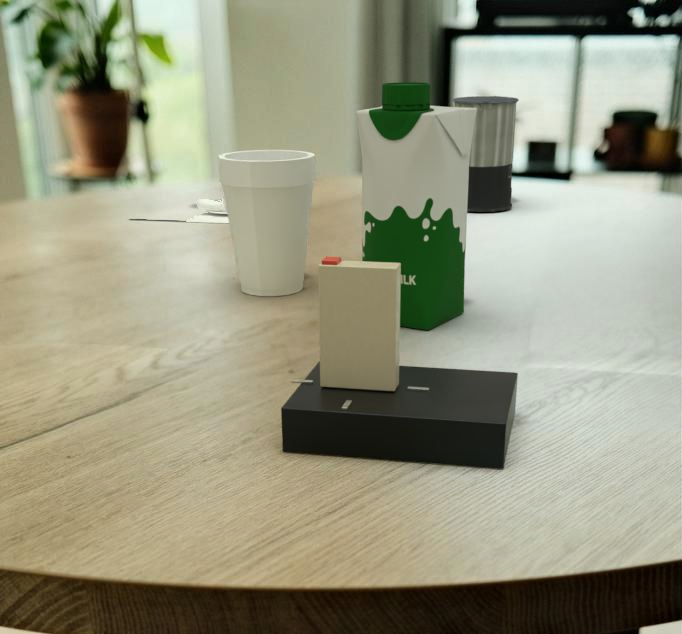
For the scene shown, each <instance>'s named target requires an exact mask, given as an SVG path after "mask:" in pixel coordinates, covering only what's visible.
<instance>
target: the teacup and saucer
mask: <svg viewBox="0 0 682 634" xmlns="http://www.w3.org/2000/svg"><path fill="white" fill-rule="evenodd" d="M220 190H221V199H222V201H221V200H218V201H220V202H218V201H214V200H209V199H199V200H198V201H197V202H196V204H197V207H198V208H199V209H202V210H205V211H206V212H208V213H203V214H201V215H199V214H198V216H196V215H195V216H194V217H193V218H194V219H192V218H190V220H189V219H187V221H186V222H185V223H206V224H207V223H209V224H229V219H228V214H227V208H226V203H225V197H224V192H223V186H222V184H221V183H220Z"/></svg>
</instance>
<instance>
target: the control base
mask: <svg viewBox="0 0 682 634" xmlns="http://www.w3.org/2000/svg"><path fill="white" fill-rule="evenodd" d="M518 375H519V373H518V372H511V371H495V370H479V369H463V368H462V369H460V368H448V367H447V368H446V367H445V368H444V367H429V366H428V367H427V366H413V365H399V384H398V386H397V388H396V390H395V391H379V390H363V389H348V388H333V387H321V386H320V360H319V361H318V362H317V363H316V364H315V365H314V367H313V368H312V369H311V371H310V372H308V374H307V376H306V377H304V379H297V378H293V379H292V380H291V384H299V385H298V387H297V388H296V389H295V390H294V392H293V393H292V394H291V395H290V397H289V398H288V399H287V400H286V401H285V402H284V404H283V405H282V406H281V408H280V415H281V444H282V452H283V453H296V454H305V455H319V456H320V455H321V456H331V457H344V458H356V459H369V460H383V461H393V462H394V461H395V462H407V463H408V462H409V463H419V464H420V463H421V464H432V465H445V466H456V467H468V468H469V467H470V468H482V469H484V468H485V469H494V470H495V469H496V470H504V469H505V468H504V467H505V463H506V459H507V454H508V449H509V444H510V439H511V434H512V429H513V425H514V420H515V415H516V404H517V392H518V391H517V389H518V377H519V376H518Z"/></svg>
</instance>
